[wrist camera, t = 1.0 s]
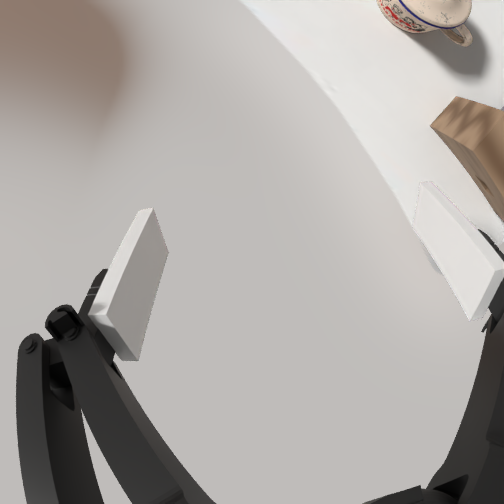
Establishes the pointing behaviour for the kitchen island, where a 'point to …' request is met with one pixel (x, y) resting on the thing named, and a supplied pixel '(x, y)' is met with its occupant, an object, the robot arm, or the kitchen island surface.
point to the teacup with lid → (430, 16)
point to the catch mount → (476, 145)
